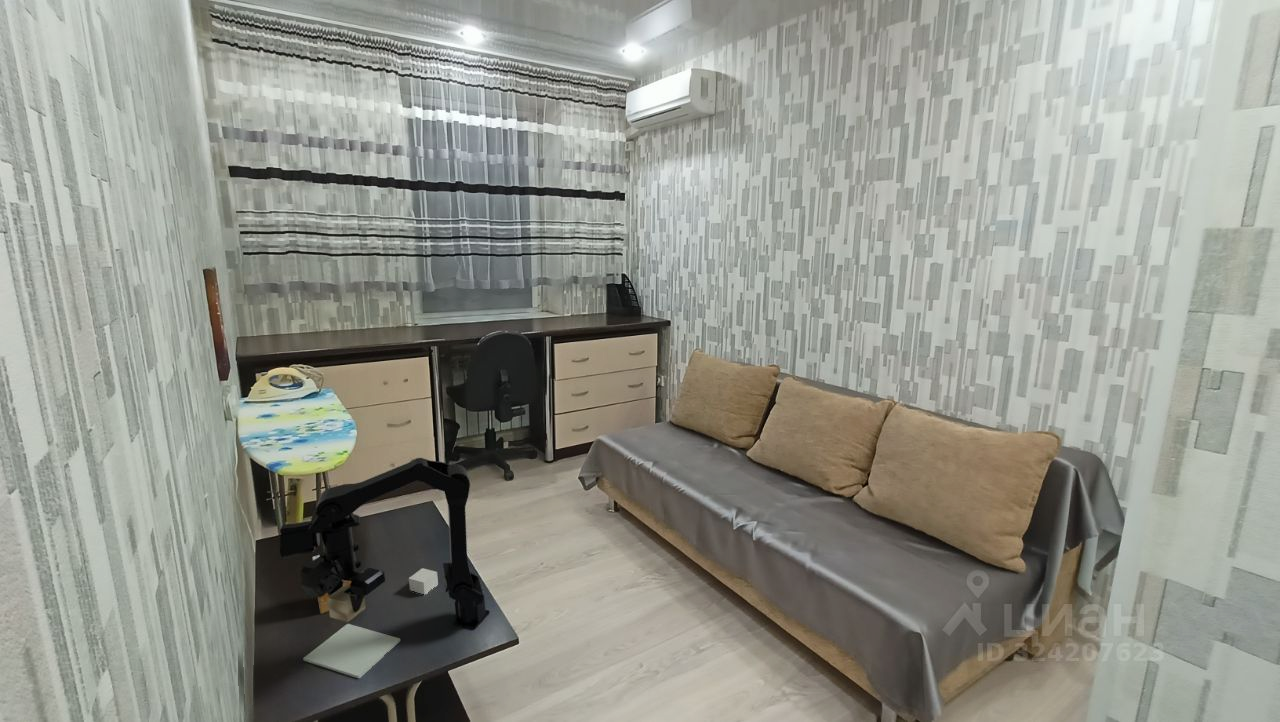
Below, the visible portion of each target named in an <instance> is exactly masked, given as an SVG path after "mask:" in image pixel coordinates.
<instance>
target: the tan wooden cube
mask: <svg viewBox="0 0 1280 722" xmlns="http://www.w3.org/2000/svg"><path fill="white" fill-rule="evenodd" d="M348 588H350V585H347V584H346V585H344V586H343V587H341V588H340V589H339V590H337V591H336V592H334V593H333V594H331V595H330V596H329V597H327V599H328V606H329V611H328V612H329V618H332V619H335V620H337V621H342V622H346V623H349V622H350V621H352V619H354V618H355V617H356V616H357V615H359V614H360V613H362V612H363V611H364V610H366V602H365V598H364V599H363V601H362V604H361V606H360V609H359V610H358V611H357V612H354V610H353V607H352V603H351V599H350V595H349V594H347V593H344V591H346V590H347V589H348Z"/></svg>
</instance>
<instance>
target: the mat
mask: <svg viewBox="0 0 1280 722" xmlns="http://www.w3.org/2000/svg"><path fill="white" fill-rule="evenodd" d="M399 643H401V638H399V637H395V636H392V635H388V634H385V633H381V632H378V631H375V630H372V629H369V628H368V629H367V628H365V627H360V626H358V625H354V624H351V623H347V624H345V625H344V626H342V628H340V629H339V630H337V631H336V632H335V633H334V634H333V635H331V636H330V637H329V638H328V639H326V640H325V641H323V642H322V643H321V644H319V645H318V646H317V647H316V648H314V649H313V650H312V651H310V653H308V654H306V655H305V656H304V657H303V661H304V662H307V663H310V664H313V665H316V666H319V667H323V668H325V669H329V670H332V671H334V672H338V673H340V674H343V675H347V676H350V677H353V678H357V679H361V678H362V677H363V676H364V675H365V674H366V673H368V671H369V670H371V668H373V667H374V666H376V664H377V663H378V662H380V660H382V659H383V658H384V657H385V656H386V655H387V654H388V653H389V652H390V651H391V650H392V649H393V648H394V647H396V646H397V645H398V644H399ZM387 652H388V653H387ZM386 653H387V654H386ZM385 654H386V655H385ZM384 655H385V656H384ZM372 666H373V667H372Z"/></svg>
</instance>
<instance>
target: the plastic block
mask: <svg viewBox="0 0 1280 722" xmlns="http://www.w3.org/2000/svg"><path fill="white" fill-rule="evenodd" d="M438 580H439V579H438V572H437V571H435V570H432V569H431V570H430V569H427V568H424V567H422V568H420V569H419V570H418V571H417V572H415V573H414V574H413V575H411V576H410V577H408V582H409V583H408V585H409V591H410V590H411V591H415V592H418V593H421V594H424V595H423V596H426V595H427V594H428V592H429V591H430V590H431V589H432V590H434V589H435V588H436V587H437V586H438V585H439V581H438ZM434 587H435V588H434ZM433 588H434V589H433ZM432 590H431V591H432ZM411 591H410V592H411ZM431 591H430V592H431ZM430 592H429V593H430ZM418 593H417V594H418ZM421 594H420V595H421ZM425 594H426V595H425Z"/></svg>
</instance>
